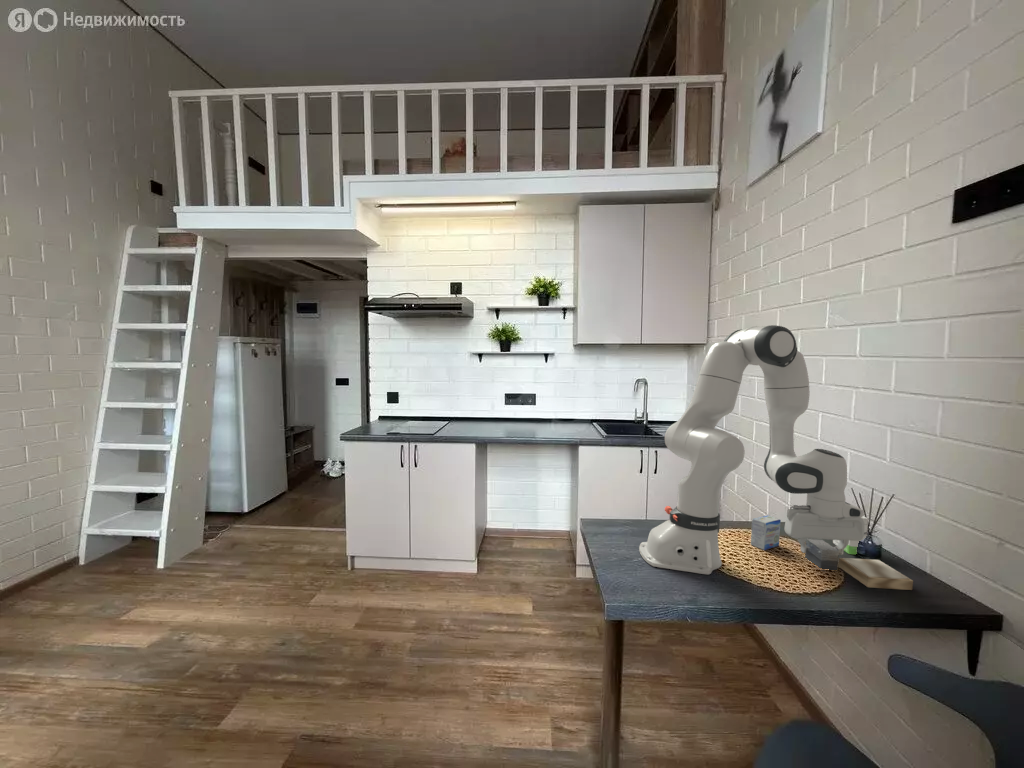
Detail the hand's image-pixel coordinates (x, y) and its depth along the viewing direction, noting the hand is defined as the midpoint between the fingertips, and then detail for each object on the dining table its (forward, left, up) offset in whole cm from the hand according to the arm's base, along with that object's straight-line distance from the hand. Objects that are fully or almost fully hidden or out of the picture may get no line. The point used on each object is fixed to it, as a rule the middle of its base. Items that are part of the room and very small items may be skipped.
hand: (821, 552), depth 122 cm
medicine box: (-10, +10, -4) cm, 15 cm away
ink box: (+16, +11, -4) cm, 20 cm away
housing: (0, -1, -3) cm, 3 cm away
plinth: (+10, -7, -3) cm, 12 cm away
